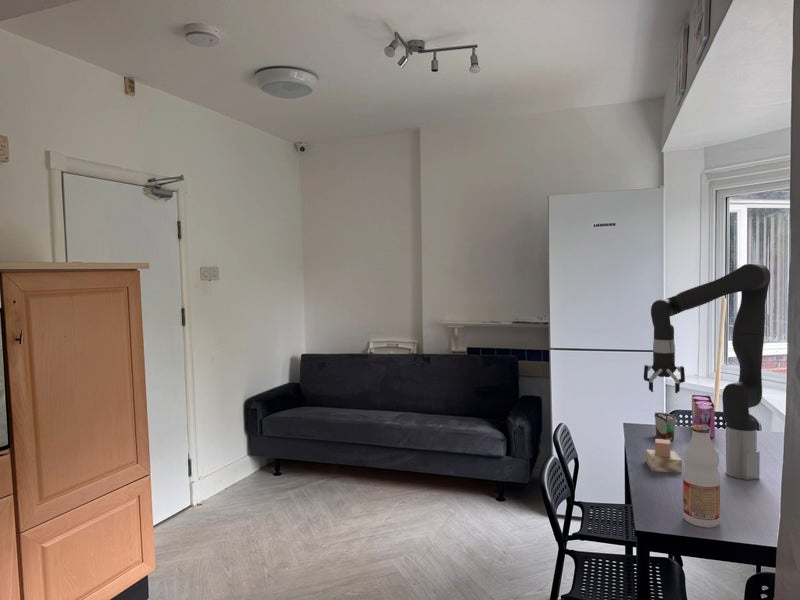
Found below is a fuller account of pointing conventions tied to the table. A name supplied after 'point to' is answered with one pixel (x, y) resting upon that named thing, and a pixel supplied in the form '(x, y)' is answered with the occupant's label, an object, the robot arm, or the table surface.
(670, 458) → the birch block
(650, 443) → the table surface
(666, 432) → the food container
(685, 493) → the fruit juice
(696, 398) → the gum box
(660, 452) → the terracotta cube
